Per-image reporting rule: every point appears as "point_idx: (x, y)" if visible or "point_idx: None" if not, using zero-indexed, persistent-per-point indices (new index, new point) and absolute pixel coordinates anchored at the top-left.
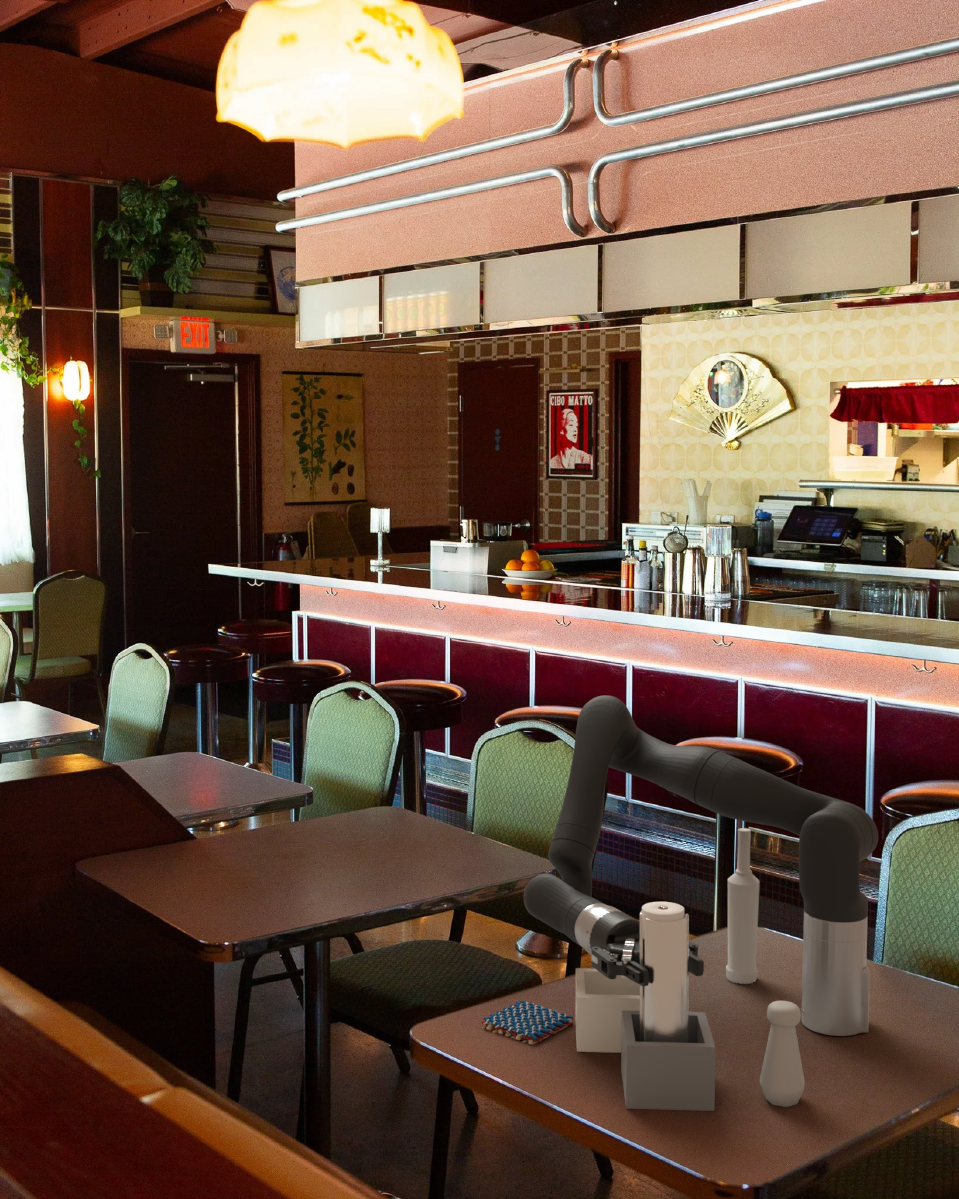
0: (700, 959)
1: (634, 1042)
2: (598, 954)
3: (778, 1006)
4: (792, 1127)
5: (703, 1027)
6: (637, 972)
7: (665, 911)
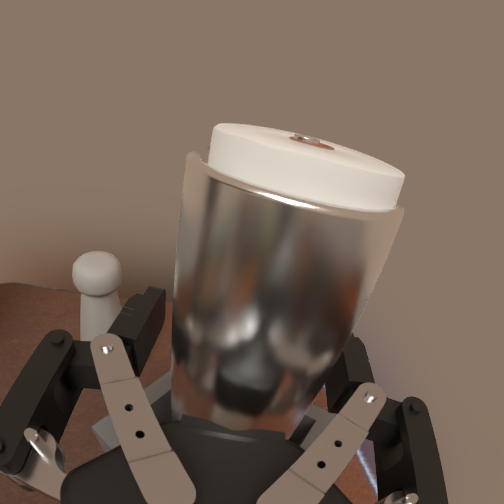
0: (149, 288)
1: (319, 418)
2: (440, 470)
3: (108, 261)
4: (159, 335)
5: (157, 392)
6: (359, 341)
7: (322, 142)
